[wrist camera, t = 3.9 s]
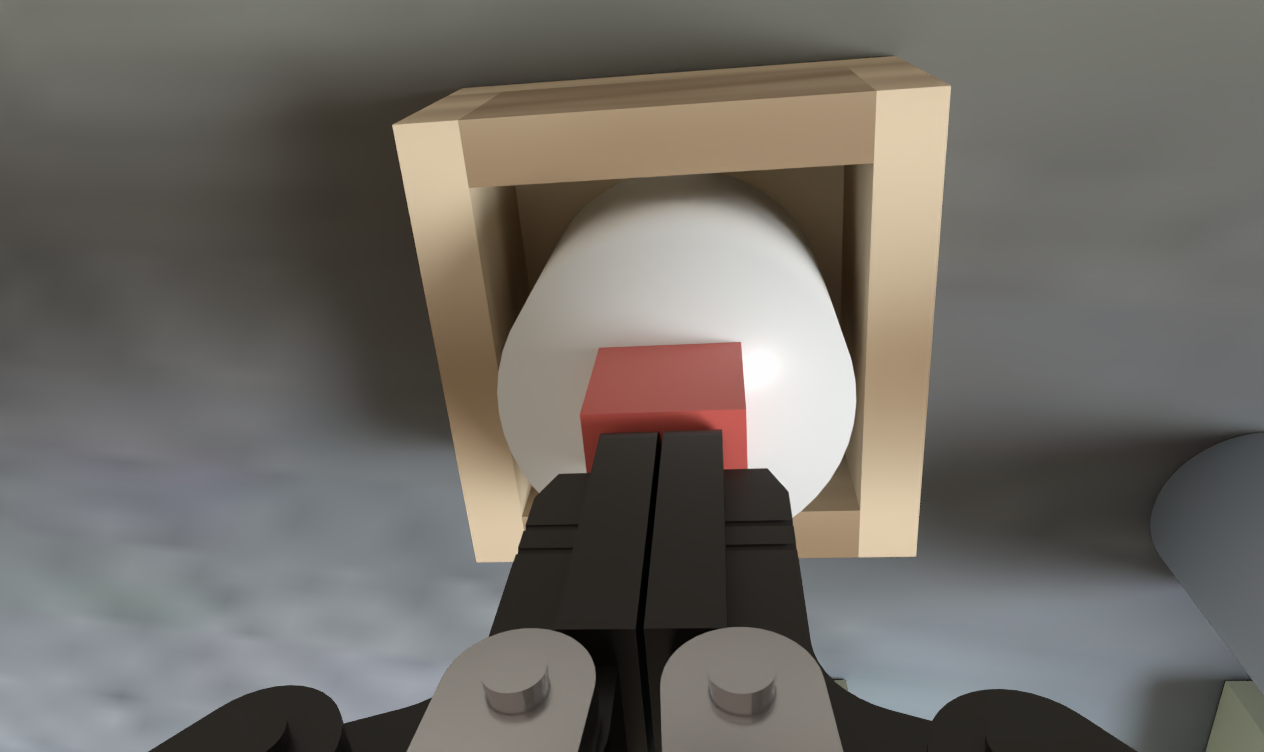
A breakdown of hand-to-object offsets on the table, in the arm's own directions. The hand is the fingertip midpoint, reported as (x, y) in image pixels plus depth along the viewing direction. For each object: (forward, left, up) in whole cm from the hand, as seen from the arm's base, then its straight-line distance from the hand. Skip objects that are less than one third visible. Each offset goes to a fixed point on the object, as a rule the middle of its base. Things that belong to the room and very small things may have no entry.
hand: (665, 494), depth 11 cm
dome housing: (0, 0, -8) cm, 8 cm away
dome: (0, 0, -6) cm, 6 cm away
